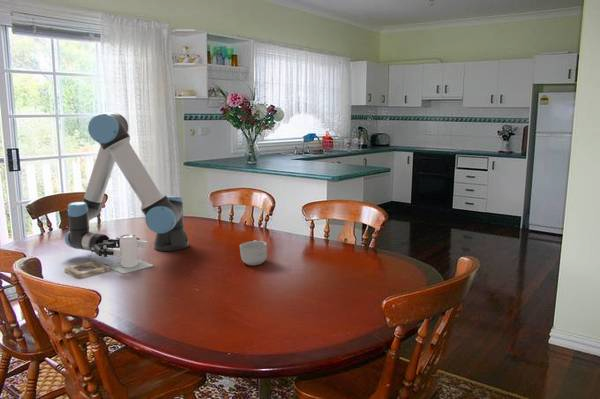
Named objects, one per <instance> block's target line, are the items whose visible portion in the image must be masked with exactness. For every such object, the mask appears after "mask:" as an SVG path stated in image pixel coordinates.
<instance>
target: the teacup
mask: <svg viewBox="0 0 600 399" xmlns="http://www.w3.org/2000/svg"><path fill="white" fill-rule="evenodd" d="M267 247H268V244H267V242H266V241H264V240H256V239H254V240H253V241H252V240H251V241H245V242H242V243H241V244H239V251H240V252H239V253H240V257H241V258H240V259H241V260H242V262H243V263H245V264H246V265H248V266H257V265H261V264H263V263H264V262H265V261H266V260H267V257H268V248H267Z"/></svg>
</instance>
